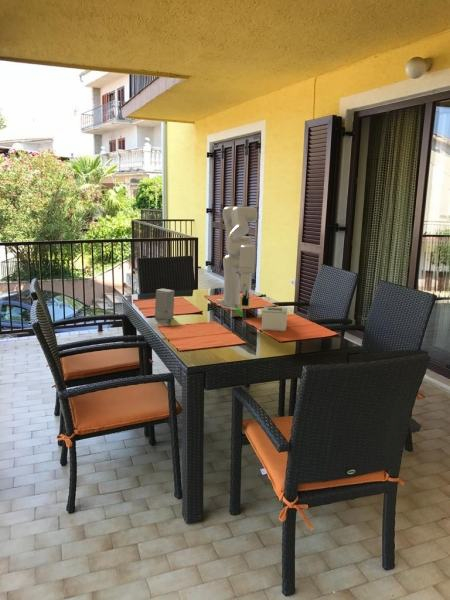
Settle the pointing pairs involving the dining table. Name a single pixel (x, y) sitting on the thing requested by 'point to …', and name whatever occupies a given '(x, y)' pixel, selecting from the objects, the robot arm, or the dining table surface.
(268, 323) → the box
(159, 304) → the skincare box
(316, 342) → the dining table surface
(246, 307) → the tan wooden block
